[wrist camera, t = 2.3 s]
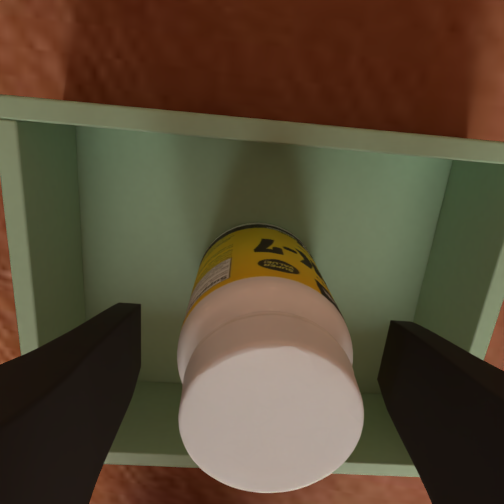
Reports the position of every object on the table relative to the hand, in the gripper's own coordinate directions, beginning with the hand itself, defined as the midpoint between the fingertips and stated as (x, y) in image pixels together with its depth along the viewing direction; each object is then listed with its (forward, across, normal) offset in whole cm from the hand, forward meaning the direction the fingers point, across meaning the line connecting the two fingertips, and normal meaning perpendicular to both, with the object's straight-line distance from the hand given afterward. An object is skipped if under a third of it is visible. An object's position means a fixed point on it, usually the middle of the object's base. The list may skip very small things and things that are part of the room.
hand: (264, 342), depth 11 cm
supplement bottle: (+5, 0, 0) cm, 5 cm away
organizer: (+6, 0, 0) cm, 6 cm away
